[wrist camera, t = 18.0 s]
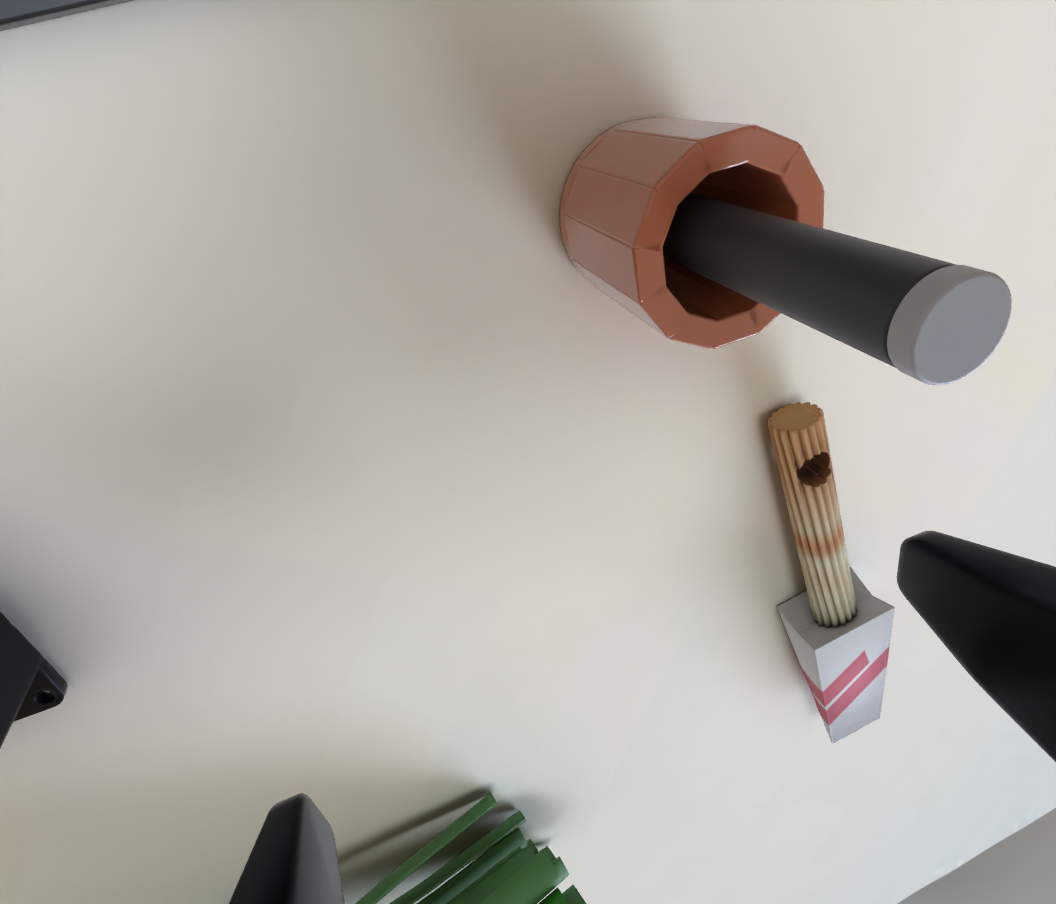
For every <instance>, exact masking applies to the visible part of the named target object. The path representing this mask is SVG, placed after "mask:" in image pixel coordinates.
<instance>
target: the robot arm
mask: <svg viewBox="0 0 1056 904" xmlns="http://www.w3.org/2000/svg"><path fill="white" fill-rule="evenodd" d="M897 582H898V586H899V588H900V590H901V592H902V593H903V595H904V596H905V597H906V599H907V600H908V601H909V602H910V603H911V605H912V606H913V607H914V608H915V610H916V611H917V612H918V613H919V614H920V616H921V617H922V618H923V619H924V620H925V622H926V623H927V624H928V625H929V626H930V628H931V629H932V630H933V631H934V632H935V634H936V635H937V636H938V637H939V639H940V640H941V641H942V642H943V643H944V645H945V646H946V647H947V648H948V649H949V651H950V652H951V653H952V654H953V655H954V657H955V658H956V659H957V660H958V661H959V663H960V664H961V665H962V666H963V667H964V669H965V670H966V671H967V672H968V673H969V674H970V675H971V676H972V678H973V679H974V680H975V681H976V682H977V683H978V684H979V685H980V686H981V687H982V688H983V689H984V690H985V691H986V692H987V694H988V695H989V696H990V697H991V698H992V699H993V700H994V701H995V702H996V703H997V704H998V705H999V706H1000V707H1001V708H1002V709H1003V710H1004V711H1005V712H1006V713H1007V714H1008V715H1009V716H1010V717H1011V718H1012V719H1013V720H1014V721H1015V722H1016V723H1017V724H1018V725H1019V726H1020V727H1021V728H1022V729H1023V730H1024V731H1025V732H1026V733H1027V734H1028V735H1029V736H1030V737H1031V738H1032V739H1033V740H1034V741H1035V742H1036V743H1037V744H1038V745H1039V746H1040V747H1041V748H1042V749H1043V750H1044V751H1045V752H1046V753H1047V754H1048V755H1049V756H1050V757H1051V758H1052V759H1053V760H1054V761H1055V762H1056V567H1054V566H1051V565H1047V564H1044V563H1041V562H1037V561H1034V560H1031V559H1027V558H1024V557H1020V556H1017V555H1014V554H1010V553H1007V552H1003V551H1000V550H997V549H993V548H990V547H987V546H983V545H980V544H976V543H973V542H970V541H966V540H963V539H960V538H956V537H953V536H949V535H946V534H943V533H939V532H935V531H925V532H921V533H919V534H917V535H914V536H912V537H910V538H907V539H905V540H904V541H903V543H902V544H901V548H900V556H899V564H898V572H897ZM67 687H68V685H67V683H66V681H65V680H64V679H63V678H62V677H61V676H60V675H59V674H58V673H57V671H56V670H55V669H54V668H53V667H52V666H51V665H50V664H49V663H48V662H47V661H46V660H45V659H44V658H43V657H42V655H41V654H40V653H39V652H38V651H37V650H36V649H35V648H34V647H33V646H32V645H31V644H30V643H29V642H28V640H27V639H26V638H25V637H24V636H23V635H22V634H21V633H20V632H19V631H18V630H17V629H16V628H15V627H14V626H13V625H12V624H11V623H10V622H9V621H8V619H7V618H6V617H5V616H4V615H3V614H2V613H1V612H0V748H1V746H2V744H3V742H4V740H5V738H6V736H7V733H8V731H9V729H10V727H11V725H12V723H13V722H14V721H16V720H19V719H22V718H25V717H27V716H30V715H33V714H36V713H38V712H41V711H44V710H47V709H49V708H52V707H55V706H56V705H58V704H60V703H61V702H62V700H63V699H64V696H65V694H66V691H67ZM43 691H49V692H50V693H47V692H43ZM229 904H345V903H344V897H343V890H342V883H341V877H340V870H339V864H338V857H337V851H336V844H335V839H334V835H333V832H332V829H331V826H330V824H329V823H328V821H327V820H326V819H325V817H324V816H323V815H322V813H321V812H320V811H319V809H318V808H317V807H316V805H315V804H314V803H313V801H312V800H311V799H310V798H309V797H308V796H307V795H306V794H303V793H301V794H298V795H295V796H293V797H291V798H288V799H286V800H283V801H281V802H279V803H277V804H275V805H274V806H273V807H272V808H271V810H270V811H269V813H268V815H267V817H266V820H265V822H264V824H263V827H262V829H261V831H260V833H259V836H258V838H257V840H256V843H255V845H254V847H253V850H252V852H251V854H250V856H249V859H248V861H247V863H246V866H245V868H244V870H243V873H242V875H241V877H240V879H239V882H238V884H237V886H236V889H235V891H234V893H233V896H232V898H231V900H230V902H229Z"/></svg>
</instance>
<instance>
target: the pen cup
mask: <svg viewBox="0 0 1056 904" xmlns="http://www.w3.org/2000/svg"><path fill="white" fill-rule="evenodd" d="M689 193H693V194H697V195H701V196H705V197H708V198H712V199H716V200H719V201H723V202H727V203H730V204H734V205H738V206H741V207H745V208H749V209H753V210H756V211H760V212H764V213H767V214H771V215H775V216H778V217H782V218H786V219H789V220H793V221H797V222H801V223H804V224H808V225H812V226H815V227H819V228H823V216H824V190H823V185H822V183H821V181H820V180H819V178H818V176H817V174H816V172H815V170H814V168H813V166H812V165H811V163H810V161H809V159H808V157H807V155H806V153H805V151H804V150H803V148H802V146H801V145H800V144H799V143H798V142H796V141H794V140H792V139H789V138H787V137H784V136H782V135H779V134H777V133H775V132H772V131H770V130H767V129H765V128H762V127H760V126H758V125H751V124H738V123H725V122H712V121H699V120H686V119H673V118H660V117H658V118H657V117H653V118H650V119H644V120H634V121H629V122H625V123H622V124H619V125H617V126H615V127H613V128H611V129H609V130H607V131H606V132H604V133H603V134H601V135H600V136H599V137H597V138H596V139H595V140H594V141H593V142H592V143H591V144H590V145H589V146H588V147H587V148H586V149H585V150H584V151H583V153H582V154H581V155H580V157H579V158H578V160H577V161H576V163H575V164H574V166H573V168H572V170H571V172H570V174H569V176H568V179H567V181H566V184H565V187H564V191H563V195H562V199H561V208H560V226H561V234H562V238H563V242H564V245H565V248H566V251H567V253H568V255H569V257H570V259H571V261H572V262H573V264H574V265H575V266H576V268H577V269H578V270H579V271H580V272H581V273H582V274H583V275H584V276H585V277H586V278H587V279H588V280H590V281H591V283H592V284H593V285H594V286H595V287H596V288H597V289H598V290H600V291H601V292H602V293H604V294H605V295H607V296H608V297H610V298H611V299H612V300H614V301H615V302H617V303H618V304H620V305H621V306H622V307H624V308H625V309H627V310H628V311H630V312H631V313H632V314H634V315H635V316H637V317H638V318H640V319H641V320H642V321H644V322H645V323H647V324H648V325H650V326H651V327H652V328H654V329H655V330H657V331H658V332H659V333H661V334H662V335H664V336H665V337H667V338H669V339H670V340H674V341H679V342H683V343H687V344H691V345H696V346H700V347H704V348H708V349H709V348H713V349H715V348H718V347H721V346H724V345H727V344H730V343H733V342H736V341H738V340H741V339H744V338H747V337H750V336H753V335H756V334H758V333H760V332H761V331H762V330H763V329H764V328H765V327H766V326H767V325H768V324H770V323H771V322H772V321H773V320H774V319H775V318H776V317H777V316H778V315H779V314H780V312H778V311H776V310H774V309H772V308H769V307H767V306H765V305H763V304H761V303H759V302H757V301H755V300H753V299H751V298H748V297H746V296H744V295H742V294H740V293H738V292H736V291H734V290H732V289H730V288H727V287H725V286H723V285H721V284H719V283H717V282H715V281H713V280H711V279H709V278H707V277H704V276H702V275H700V274H698V273H696V272H694V271H692V270H690V269H688V268H686V267H683V266H681V265H679V264H677V263H675V262H673V261H671V260H669V259H667V258H665V257H663V248H662V247H663V244H664V241H665V239H666V236H667V233H668V231H669V228H670V225H671V222H672V220H673V217H674V214H675V212H676V209H677V206H678V204H679V203H680V202H681V201H682V200H683V199H684V198H685V197H686V196H687V195H688V194H689Z"/></svg>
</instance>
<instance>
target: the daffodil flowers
mask: <svg viewBox="0 0 1056 904" xmlns="http://www.w3.org/2000/svg"><path fill="white" fill-rule="evenodd" d="M496 804H497V802H496V800H495V798H494V797H493V795H492V794H491V793H490V794H488V795H487V796H486V797H485V798H483V799H482V800H481V801H480V802H479V803H477V804H476V805H475V806H474V807H472V808H471V809H470V810H469V811H467V812H466V813H465V814H464V815H462V816H461V817H460V818H459V819H457V820H456V821H455V822H454V823H452V824H451V825H450V826H449V827H447V828H446V829H445V830H444V831H442V832H441V833H440V834H439V835H437V836H436V837H435V838H434V839H432V840H431V841H430V842H429V843H428V844H426V845H425V846H424V847H423V848H421V849H420V850H419V851H418V852H416V853H415V854H414V855H413V856H411V857H410V858H409V859H408V860H406V861H405V862H404V863H403V864H401V865H400V866H399V867H398V868H396V869H395V870H394V871H393V872H392V873H391V874H389V875H388V876H387V877H386V878H385V879H384V880H382V881H381V882H380V883H379V884H378V885H377V886H375V887H374V888H373V889H372V890H371V891H370V892H368V893H367V894H366V895H365V896H364V897H362V898H361V899H360V900H359V901H358V902H357V903H355V904H376V903H377V902H378V901H379V900H381V899H382V898H383V897H384V896H385V895H386V894H388V893H389V892H390V891H391V890H392V889H393V888H394V887H396V886H397V885H398V884H399V883H400V882H401V881H403V880H404V879H405V878H406V877H408V876H409V875H410V874H411V873H412V872H414V871H415V870H416V869H417V868H419V867H420V866H421V865H422V864H424V863H425V862H426V861H427V860H428V859H430V858H431V857H432V856H433V855H435V854H436V853H437V852H438V851H439V850H441V849H442V848H443V847H444V846H446V845H447V844H448V843H449V842H451V841H452V840H453V839H454V838H455V837H457V836H458V835H459V834H460V833H462V832H463V831H464V830H465V829H467V828H468V827H469V826H470V825H471V824H473V823H474V822H475V821H476V820H478V819H479V818H480V817H481V816H482V815H484V814H485V813H486V812H487V811H489V810H490V809H491V808H492V807H494V806H495V805H496ZM525 821H526V819H525V818H524V816H523V814H522V813H521V812H520V811H518V812H516V813H515V814H514V815H512V816H511V817H510V818H508V819H507V820H506V821H504V822H503V823H501V824H500V825H499V826H497V827H496V828H495V829H493V830H492V831H491V832H489V833H488V834H487V835H485V836H484V837H482V838H481V839H480V840H478V841H477V842H476V843H474V844H473V845H472V846H470V847H469V848H468V849H466V850H465V851H464V852H462V853H461V854H459V855H458V856H457V857H455V858H454V859H453V860H451V861H450V862H449V863H447V864H446V865H445V866H443V867H442V868H441V869H439V870H438V871H436V872H435V873H434V874H432V875H431V876H430V877H428V878H427V879H426V880H424V881H423V882H421V883H420V884H418V885H417V886H415V887H414V888H412V889H411V890H409V891H408V892H406V893H405V894H403V895H402V896H400V897H399V898H397V899H396V900H394V901H393V902H391V903H390V904H413V903H414V902H416V901H417V900H419V899H420V898H422V897H423V896H425V895H426V894H428V893H429V892H431V891H432V890H433V889H435V888H436V887H437V886H439V885H440V884H441V883H443V882H444V881H445V880H447V879H448V878H449V877H451V876H452V875H454V874H455V873H456V872H458V871H459V870H460V869H462V868H463V867H464V866H466V865H467V864H468V863H470V862H471V861H472V860H474V859H475V858H476V857H478V856H479V855H480V854H482V853H483V852H484V851H486V850H487V849H488V848H490V847H491V846H492V845H494V844H495V843H496V842H498V841H499V840H500V839H502V838H503V837H504V836H506V835H507V834H509V833H510V832H511V831H513V830H514V829H515V828H517V827H518V826H519V825H521V824H522V823H523V822H525ZM568 875H569V873H568V871H567V869H566V867H565V866H564V864H563V862H562V860H561V858H560V857H558V858H557V859H556V858H555V856H554V855H553V853H552V852H551V850H550V849H549V848H548V846H546V847H545V848H544V849H542V850H540V851H539V852H538V850H537V848H536V847H535V845H534V844H533V842H532V841H531V840H528V841H527V842H526V840H525V838H524V837H523V835H522V833H521V831H520V829H519V828H517V829H515V830H514V831H513V832H511V833H510V834H509V835H508V836H506V837H505V838H504V839H502V840H501V841H500V842H498V843H497V844H496V845H494V846H493V847H492V848H490V849H489V850H488V851H487V852H485V853H484V854H483V855H481V856H480V857H479V858H477V859H476V860H475V861H473V862H472V863H471V864H469V865H468V866H467V867H466V868H464V869H463V870H462V871H460V872H459V873H458V874H456V875H455V876H454V877H452V878H451V879H450V880H448V881H447V882H446V883H445V884H443V885H442V886H441V887H439V888H438V889H437V890H435V891H434V892H432V893H431V894H430V895H428V896H427V897H425V898H424V899H423V900H421V901H420V902H418V903H417V904H537V903H538V902H539V901H540V900H542V899H543V898H544V897H545V896H546V895H547V894H548V893H549V892H550V891H552V890H553V889H554V888H555V887H556V886H557V885H558V884H559V883H561V882H562V881H563V880H564V879H565V878H566V877H567V876H568ZM539 904H586V903H585V901H584V900H583V898H582V896H581V895H580V894H579V892H578V891H577V889H576V888H575V886H574V885H572V886H571V887H570V888H568V889H567V890H566V891H565V892H563V893H561V892H560V890H559V889H558V888H556V889H555V890H554V891H553V892H552V893H551V894H549V895H548V896H547V897H546V898H545V899H543V900H542V901H541V902H540V903H539Z"/></svg>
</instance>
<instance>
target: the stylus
mask: <svg viewBox="0 0 1056 904" xmlns="http://www.w3.org/2000/svg"><path fill="white" fill-rule="evenodd" d="M662 248H663V257H665V258H667V259H669V260H671V261H673V262H675V263H677V264H679V265H681V266H683V267H686V268H688V269H690V270H692V271H694V272H696V273H698V274H700V275H702V276H704V277H707V278H709V279H711V280H713V281H715V282H717V283H719V284H721V285H723V286H725V287H727V288H730V289H732V290H734V291H736V292H738V293H740V294H742V295H744V296H746V297H748V298H751V299H753V300H755V301H757V302H759V303H761V304H763V305H765V306H767V307H769V308H772V309H774V310H776V311H778V312H780V313H782V314H784V315H786V316H788V317H790V318H793V319H795V320H797V321H799V322H801V323H803V324H805V325H807V326H809V327H811V328H814V329H816V330H818V331H820V332H822V333H824V334H826V335H828V336H830V337H832V338H834V339H837V340H839V341H841V342H843V343H845V344H847V345H849V346H851V347H853V348H855V349H858V350H860V351H862V352H864V353H866V354H868V355H870V356H872V357H874V358H876V359H879V360H881V361H883V362H885V363H887V364H889V365H891V366H893V367H895V368H897V369H898V370H899V371H901V372H903V373H905V374H907V375H909V376H911V377H913V378H915V379H917V380H919V381H921V382H923V383H926V384H931V385H943V384H949V383H952V382H955V381H957V380H959V379H961V378H963V377H965V376H967V375H968V374H970V373H971V372H972V371H974V370H975V369H976V368H977V367H979V366H980V365H981V364H982V363H983V362H984V361H985V360H986V359H987V358H988V356H989V355H990V354H991V353H992V351H993V350H994V349H995V347H996V346H997V344H998V343H999V341H1000V339H1001V338H1002V336H1003V334H1004V331H1005V329H1006V327H1007V324H1008V321H1009V317H1010V313H1011V294H1010V290H1009V288H1008V286H1007V284H1006V283H1005V282H1004V280H1003V279H1002V278H1000V277H999V276H998V275H996V274H994V273H991V272H988V271H984V270H980V269H976V268H973V267H969V266H965V265H956V264H952V263H948V262H945V261H941V260H937V259H933V258H930V257H926V256H922V255H919V254H915V253H911V252H908V251H904V250H900V249H897V248H893V247H889V246H885V245H882V244H878V243H874V242H871V241H867V240H863V239H860V238H856V237H852V236H849V235H845V234H841V233H837V232H834V231H830V230H826V229H823V228H819V227H815V226H812V225H808V224H804V223H801V222H797V221H793V220H789V219H786V218H782V217H778V216H775V215H771V214H767V213H764V212H760V211H756V210H753V209H749V208H745V207H741V206H738V205H734V204H730V203H727V202H723V201H719V200H716V199H712V198H708V197H705V196H701V195H697V194H693V193H689V194H688V195H687V196H686V197H685V198H684V199H683V200H682V201H681V202H680V203H679V204H678V206H677V209H676V212H675V214H674V217H673V220H672V222H671V225H670V228H669V231H668V233H667V236H666V239H665V241H664V244H663V247H662Z"/></svg>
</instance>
